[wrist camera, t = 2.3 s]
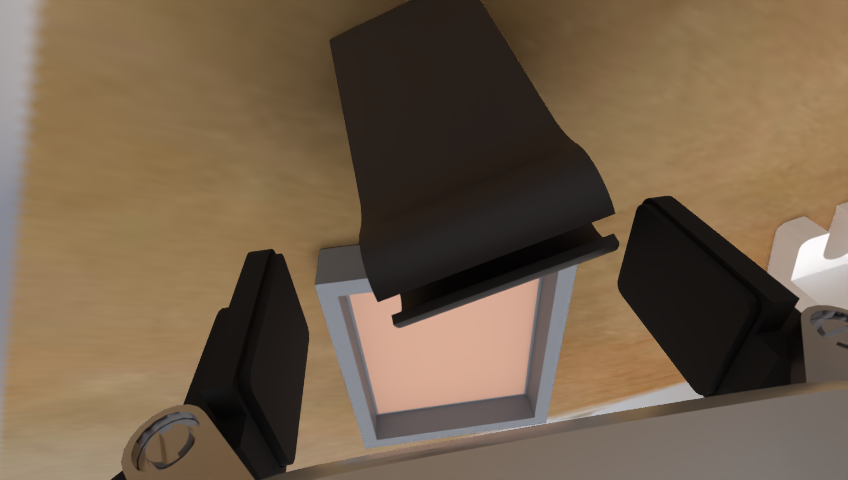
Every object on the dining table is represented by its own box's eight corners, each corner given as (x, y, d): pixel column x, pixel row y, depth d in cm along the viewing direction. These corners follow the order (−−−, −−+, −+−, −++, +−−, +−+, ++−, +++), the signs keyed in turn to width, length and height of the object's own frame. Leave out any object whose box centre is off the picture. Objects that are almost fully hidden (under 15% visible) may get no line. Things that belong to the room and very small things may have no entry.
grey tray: (559, 220, 24) (579, 251, 22) (533, 388, 35) (545, 422, 32) (319, 249, 24) (314, 284, 21) (365, 412, 34) (365, 448, 32)
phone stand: (329, 37, 17) (284, 166, 8) (464, -27, 17) (594, 33, 7) (411, 203, 23) (443, 401, 13) (516, 161, 22) (632, 340, 12)
